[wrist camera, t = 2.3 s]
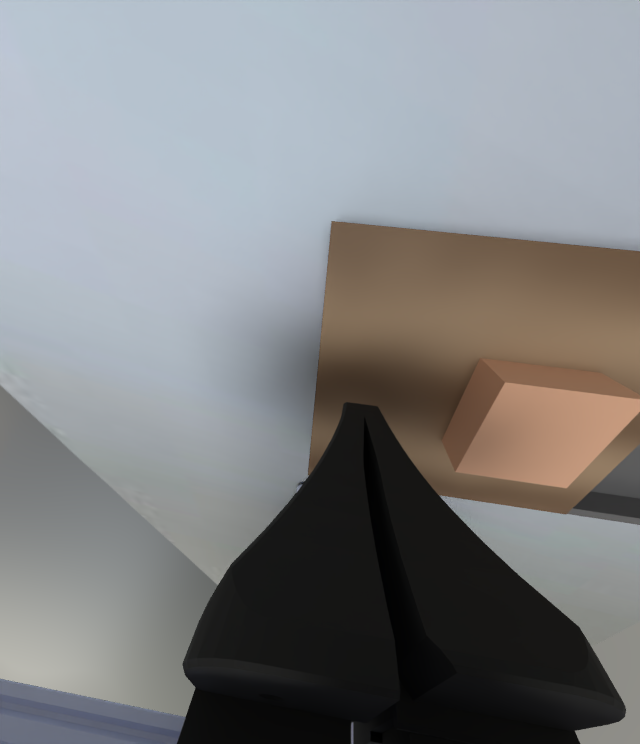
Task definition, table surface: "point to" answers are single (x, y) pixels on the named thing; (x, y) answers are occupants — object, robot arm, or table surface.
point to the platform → (469, 338)
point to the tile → (535, 421)
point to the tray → (615, 494)
